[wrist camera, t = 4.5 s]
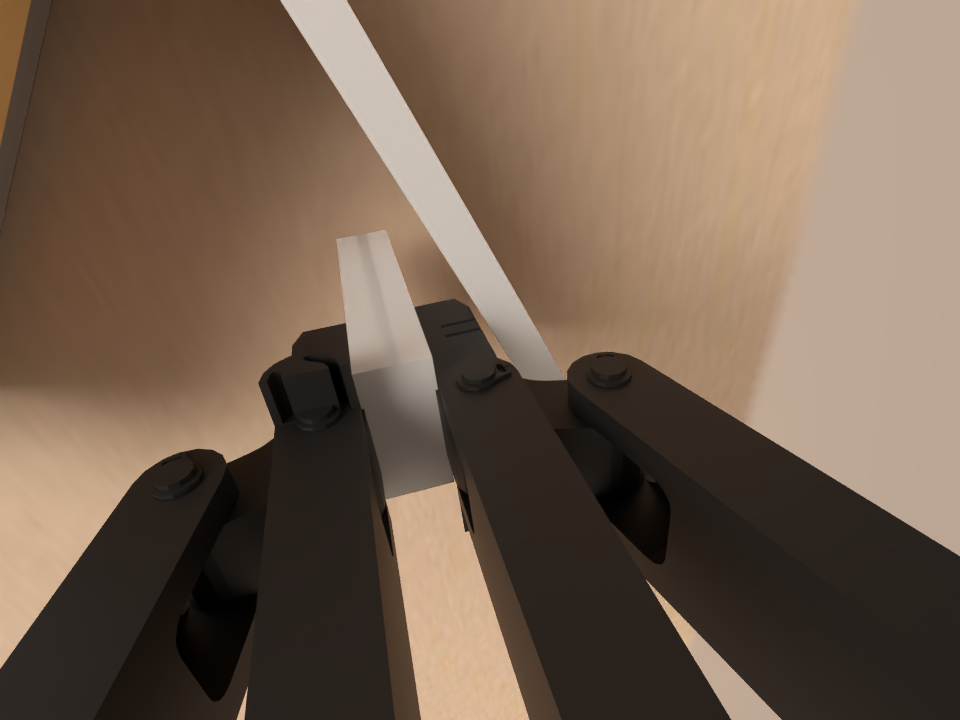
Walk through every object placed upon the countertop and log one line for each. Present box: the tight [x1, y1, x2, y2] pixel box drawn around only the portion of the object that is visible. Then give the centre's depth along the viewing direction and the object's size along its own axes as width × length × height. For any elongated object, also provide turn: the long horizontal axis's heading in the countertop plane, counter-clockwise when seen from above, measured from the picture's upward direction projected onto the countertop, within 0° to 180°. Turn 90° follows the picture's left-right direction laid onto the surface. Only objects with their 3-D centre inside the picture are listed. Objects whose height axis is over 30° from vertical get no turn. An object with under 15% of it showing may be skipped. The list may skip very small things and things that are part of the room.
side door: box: [280, 0, 566, 381], centre depth 12 cm, size 15×1×6 cm, turn 29°
